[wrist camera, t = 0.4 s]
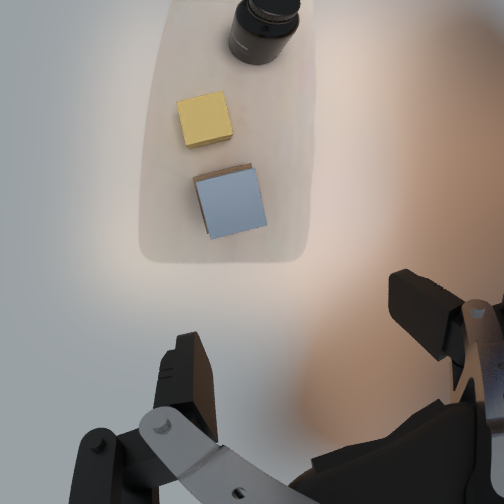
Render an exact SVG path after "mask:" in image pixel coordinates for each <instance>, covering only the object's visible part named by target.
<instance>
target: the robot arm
mask: <svg viewBox="0 0 504 504" xmlns="http://www.w3.org/2000/svg"><path fill="white" fill-rule="evenodd" d="M388 308H389V312H390V315H391V317H392V318H393V319H394V320H395V321H396V322H397V323H398V324H399V325H400V326H401V327H402V328H403V329H404V330H406V331H407V332H408V333H409V334H410V335H411V336H412V337H413V338H414V339H415V340H416V341H417V342H418V343H419V344H420V345H421V346H422V347H424V348H425V349H426V350H427V351H428V352H429V353H430V354H431V355H432V356H433V357H434V358H435V359H436V360H437V361H440V360H442V359H443V358H445V357H446V356H449V357H450V361H449V386H450V399H449V404H448V405H444V404H443V403H442V402H441V401H440V399H437V400H436V401H434V402H433V403H431V404H429V405H428V406H426V407H425V408H423V409H421V410H420V411H418V412H416V413H415V414H413V415H412V416H411V417H409V418H408V419H407V420H406V421H405V422H404V423H403V424H402V425H400V426H399V427H398V428H397V429H396V430H395V431H393V432H392V433H391V434H390V435H388V436H387V437H385V438H382V439H378V440H374V441H370V442H365V443H360V444H355V445H350V446H346V447H343V448H341V449H338V450H335V451H333V452H330V453H327V454H324V455H322V456H318V457H315V458H312V459H311V462H312V468H311V469H309V470H307V471H306V472H304V473H303V474H301V475H300V476H298V477H297V478H296V479H295V480H294V481H293V482H291V483H290V484H289V485H288V486H286V485H284V484H283V483H281V482H279V481H278V480H276V479H274V478H273V477H271V476H270V475H268V474H266V473H265V472H263V471H262V470H260V469H259V468H257V467H256V466H254V465H253V464H251V463H250V462H248V461H247V460H245V459H244V458H243V457H241V456H240V455H238V454H237V453H236V452H234V451H233V450H231V449H230V448H228V447H227V446H225V445H222V446H219V445H218V444H216V443H217V442H218V433H217V422H216V410H215V397H214V384H213V373H212V368H211V365H210V362H209V359H208V357H207V355H206V352H205V350H204V347H203V345H202V342H201V340H200V337H199V335H198V333H197V332H191V333H187V334H182V335H178V336H177V339H176V348H175V349H174V350H169V351H167V353H166V354H165V355H164V357H163V358H162V360H161V363H160V369H159V370H160V372H159V375H158V381H157V387H156V393H155V399H154V406H153V410H151V411H149V412H148V413H147V414H145V416H144V417H143V418H142V419H141V421H140V424H139V428H137V429H135V430H132V431H129V432H126V433H124V434H120V435H118V436H116V435H115V434H114V433H113V432H112V431H111V430H109V429H107V428H96V429H93V430H91V431H89V432H88V433H87V434H86V435H85V436H84V437H83V438H82V440H81V443H80V446H79V450H78V455H77V459H76V464H75V469H74V474H73V480H72V485H71V492H70V497H69V504H160V503H159V486H161V485H164V484H167V483H170V482H173V481H176V480H179V481H180V483H181V484H182V485H183V486H184V487H185V488H186V489H187V490H188V491H189V492H190V493H191V494H192V495H193V496H194V497H195V498H197V499H198V500H199V501H200V502H201V503H202V504H504V295H503V299H502V303H500V304H496V305H493V306H491V305H490V304H489V303H488V302H486V301H483V300H480V299H472V300H468V301H466V302H465V301H463V300H462V299H460V298H459V297H457V296H455V295H454V294H452V293H451V292H449V291H447V290H446V289H443V287H441V286H440V285H437V283H435V282H433V281H432V280H430V279H428V278H424V277H421V276H418V275H416V274H414V273H413V272H411V271H410V270H408V269H403V270H400V271H398V272H395V273H392V274H391V275H390V276H389V299H388Z"/></svg>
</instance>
